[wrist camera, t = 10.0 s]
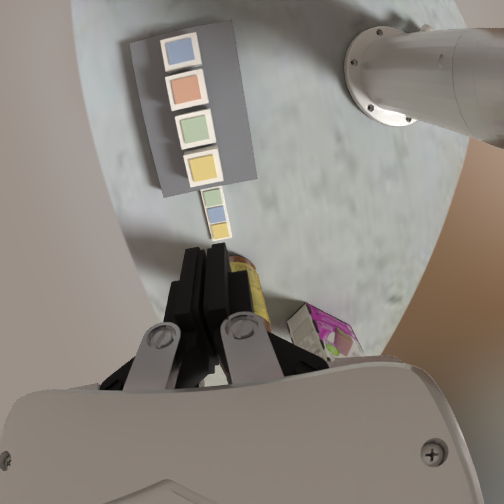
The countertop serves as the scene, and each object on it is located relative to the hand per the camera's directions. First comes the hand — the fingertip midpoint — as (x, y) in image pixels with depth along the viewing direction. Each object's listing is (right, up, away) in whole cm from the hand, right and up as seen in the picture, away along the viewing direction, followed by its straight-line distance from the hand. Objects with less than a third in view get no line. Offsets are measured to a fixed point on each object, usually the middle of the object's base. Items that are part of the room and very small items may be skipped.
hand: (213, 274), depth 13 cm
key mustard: (-3, +11, +17) cm, 20 cm away
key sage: (-4, +14, +15) cm, 21 cm away
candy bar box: (+12, -10, +33) cm, 36 cm away
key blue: (-5, +20, +11) cm, 23 cm away
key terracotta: (-4, +16, +12) cm, 21 cm away
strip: (-2, +5, +21) cm, 22 cm away
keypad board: (-4, +16, +14) cm, 22 cm away
